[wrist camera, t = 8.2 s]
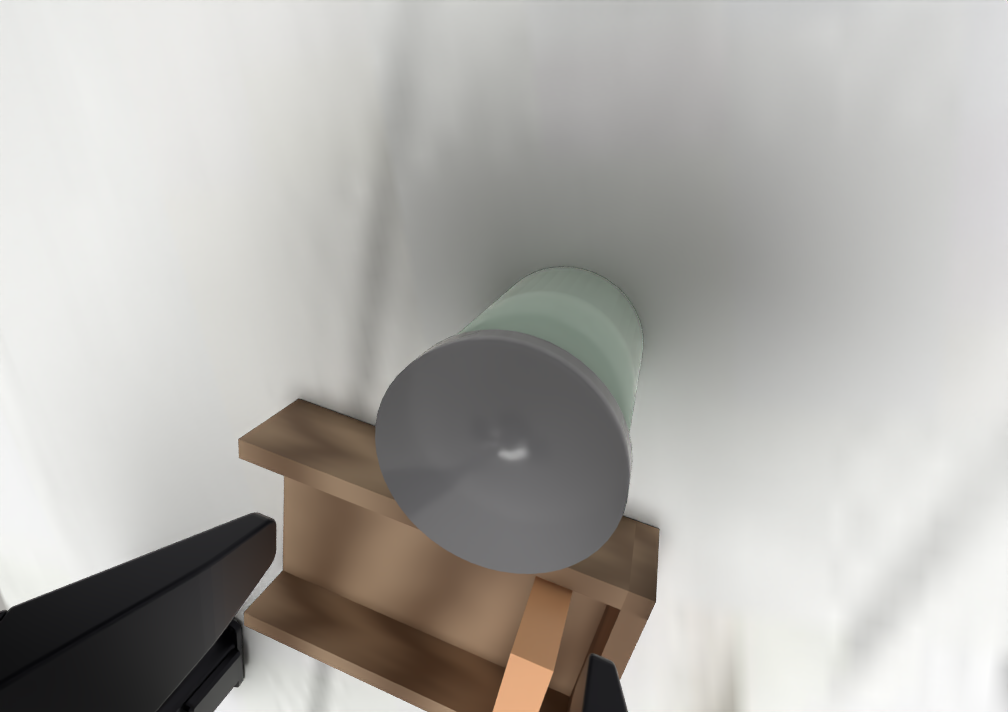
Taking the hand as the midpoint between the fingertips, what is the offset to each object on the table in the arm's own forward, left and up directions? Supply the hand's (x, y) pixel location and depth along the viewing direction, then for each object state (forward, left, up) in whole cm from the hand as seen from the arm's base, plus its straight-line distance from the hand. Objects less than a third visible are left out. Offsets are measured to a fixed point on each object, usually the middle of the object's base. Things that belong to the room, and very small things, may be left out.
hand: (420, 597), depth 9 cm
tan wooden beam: (+2, -13, -12) cm, 18 cm away
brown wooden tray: (-3, -13, -13) cm, 19 cm away
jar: (0, 0, -13) cm, 13 cm away
